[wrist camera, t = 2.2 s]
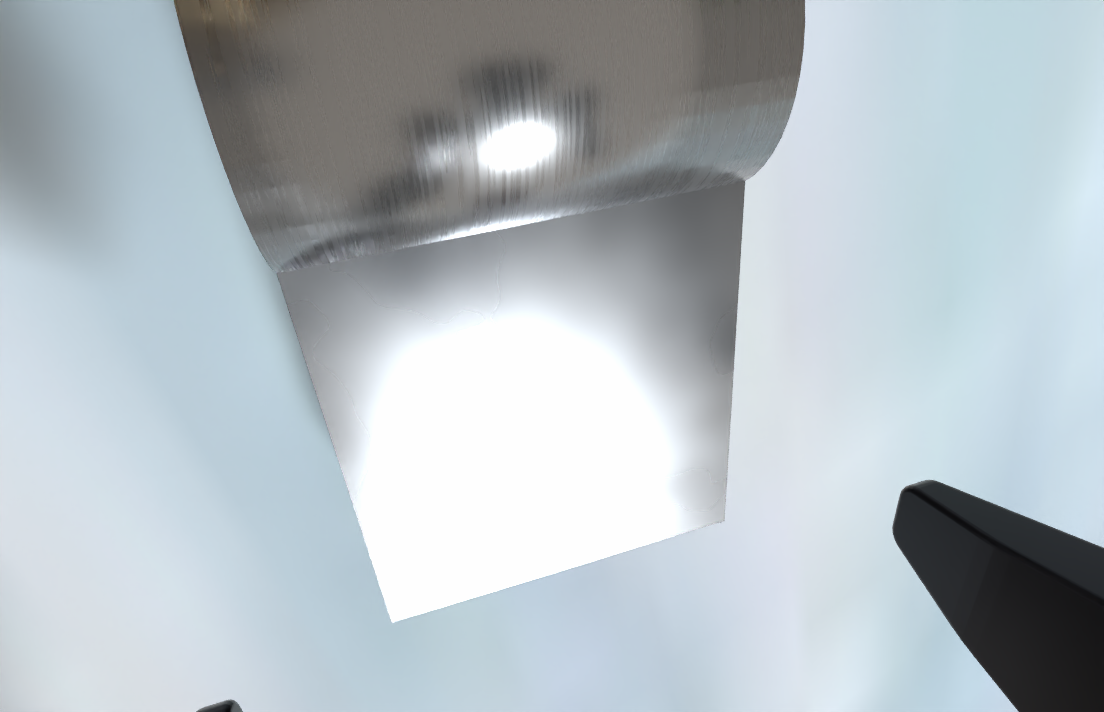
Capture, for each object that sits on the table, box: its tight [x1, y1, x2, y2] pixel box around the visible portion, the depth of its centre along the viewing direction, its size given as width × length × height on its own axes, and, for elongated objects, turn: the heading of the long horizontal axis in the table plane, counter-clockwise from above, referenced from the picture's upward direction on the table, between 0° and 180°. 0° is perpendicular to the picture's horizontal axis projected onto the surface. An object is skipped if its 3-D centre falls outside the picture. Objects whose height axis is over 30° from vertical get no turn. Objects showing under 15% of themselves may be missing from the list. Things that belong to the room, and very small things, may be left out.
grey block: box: [174, 0, 805, 623], centre depth 10 cm, size 10×6×4 cm, turn 5°
